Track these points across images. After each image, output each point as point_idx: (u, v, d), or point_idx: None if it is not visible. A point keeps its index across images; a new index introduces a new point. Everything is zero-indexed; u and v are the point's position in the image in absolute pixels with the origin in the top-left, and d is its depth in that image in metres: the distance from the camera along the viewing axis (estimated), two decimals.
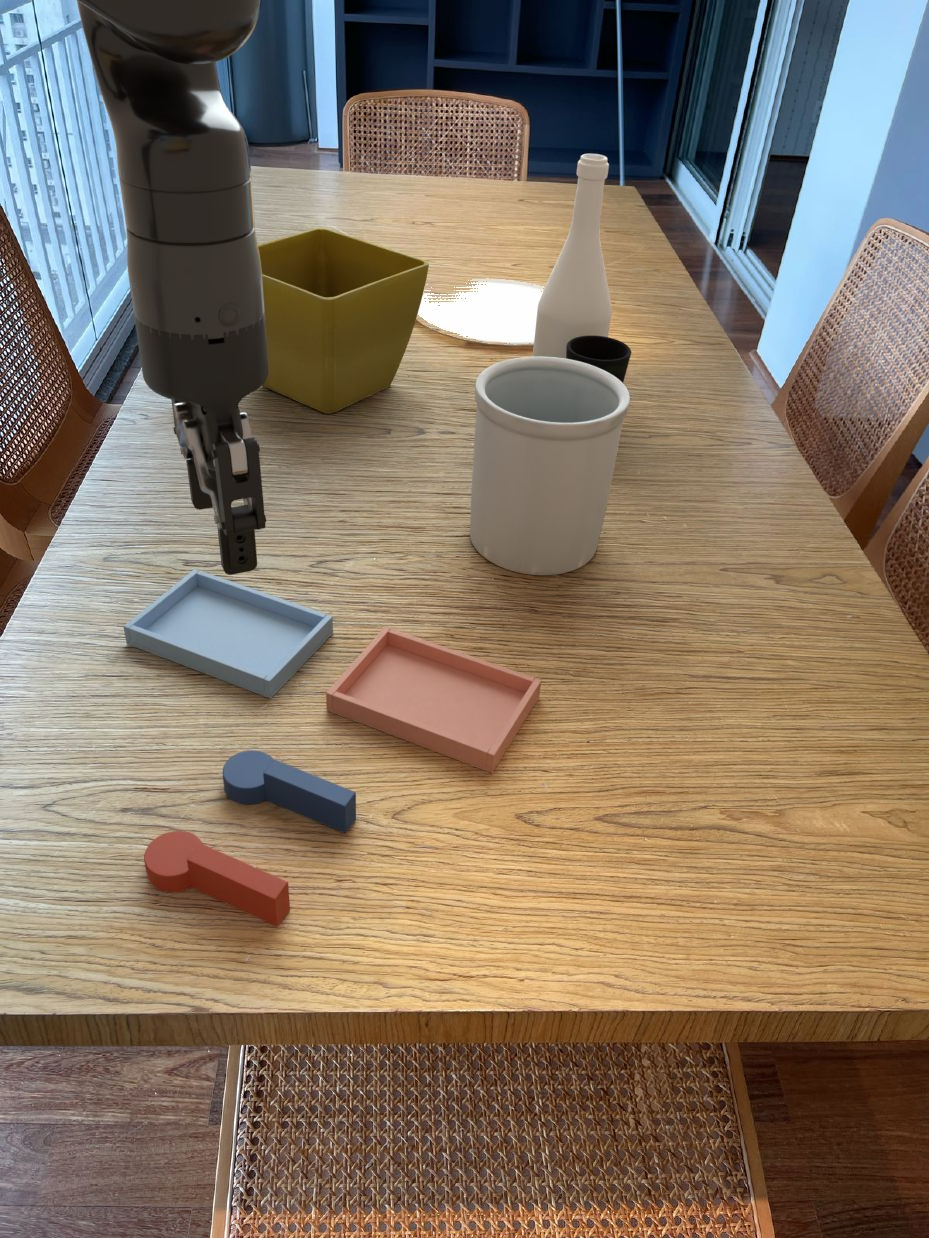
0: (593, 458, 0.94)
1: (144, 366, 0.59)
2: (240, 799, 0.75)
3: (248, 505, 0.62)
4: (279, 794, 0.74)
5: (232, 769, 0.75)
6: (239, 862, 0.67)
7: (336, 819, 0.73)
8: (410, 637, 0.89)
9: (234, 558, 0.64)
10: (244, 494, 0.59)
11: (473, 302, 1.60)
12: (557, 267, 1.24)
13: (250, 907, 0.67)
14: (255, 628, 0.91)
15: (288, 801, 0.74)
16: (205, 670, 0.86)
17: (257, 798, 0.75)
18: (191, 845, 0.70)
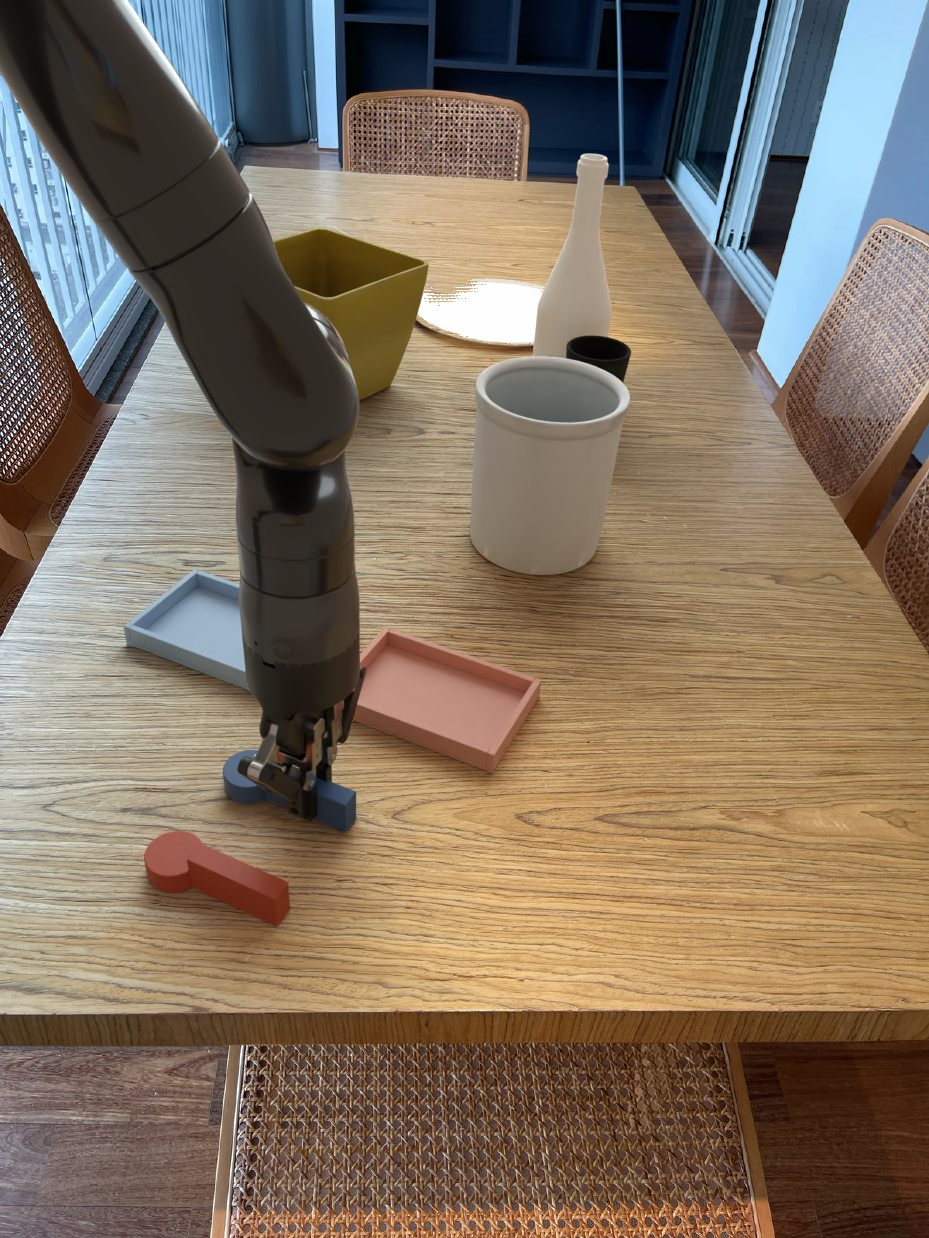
0: (593, 458, 0.94)
1: None
2: (240, 798, 0.75)
3: None
4: None
5: (232, 768, 0.75)
6: (239, 862, 0.67)
7: (337, 818, 0.73)
8: (410, 637, 0.89)
9: (288, 805, 0.72)
10: (269, 789, 0.67)
11: (473, 302, 1.60)
12: (557, 267, 1.24)
13: (250, 907, 0.67)
14: None
15: None
16: (205, 670, 0.86)
17: (257, 797, 0.75)
18: (191, 845, 0.70)
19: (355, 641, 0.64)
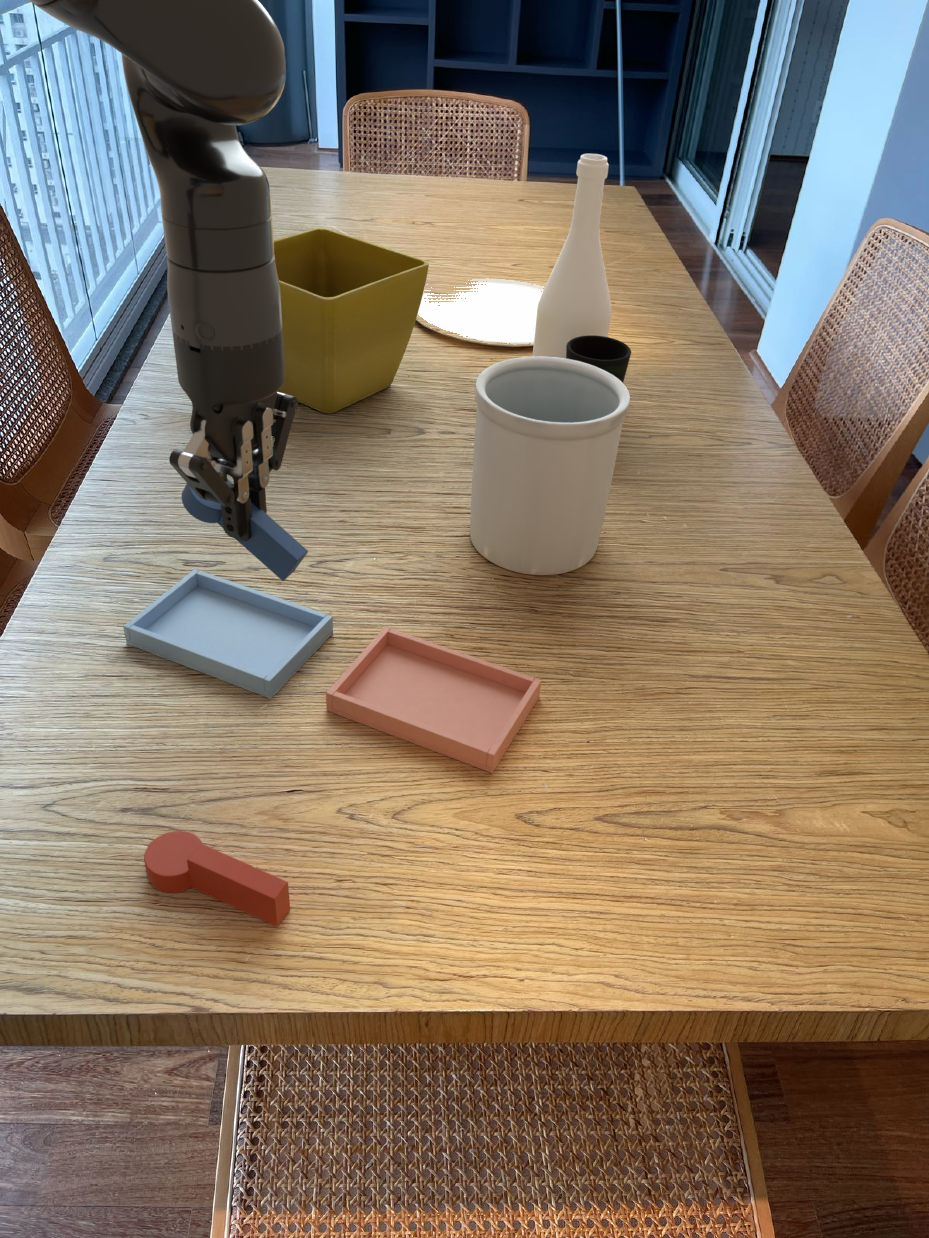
0: (593, 458, 0.94)
1: None
2: (196, 514, 0.78)
3: None
4: None
5: None
6: (239, 862, 0.67)
7: (282, 567, 0.79)
8: (410, 637, 0.89)
9: (224, 523, 0.78)
10: (201, 487, 0.72)
11: (473, 302, 1.60)
12: (557, 267, 1.24)
13: (250, 907, 0.67)
14: (255, 628, 0.91)
15: None
16: (205, 670, 0.86)
17: (212, 519, 0.79)
18: (191, 845, 0.70)
19: (277, 336, 0.69)
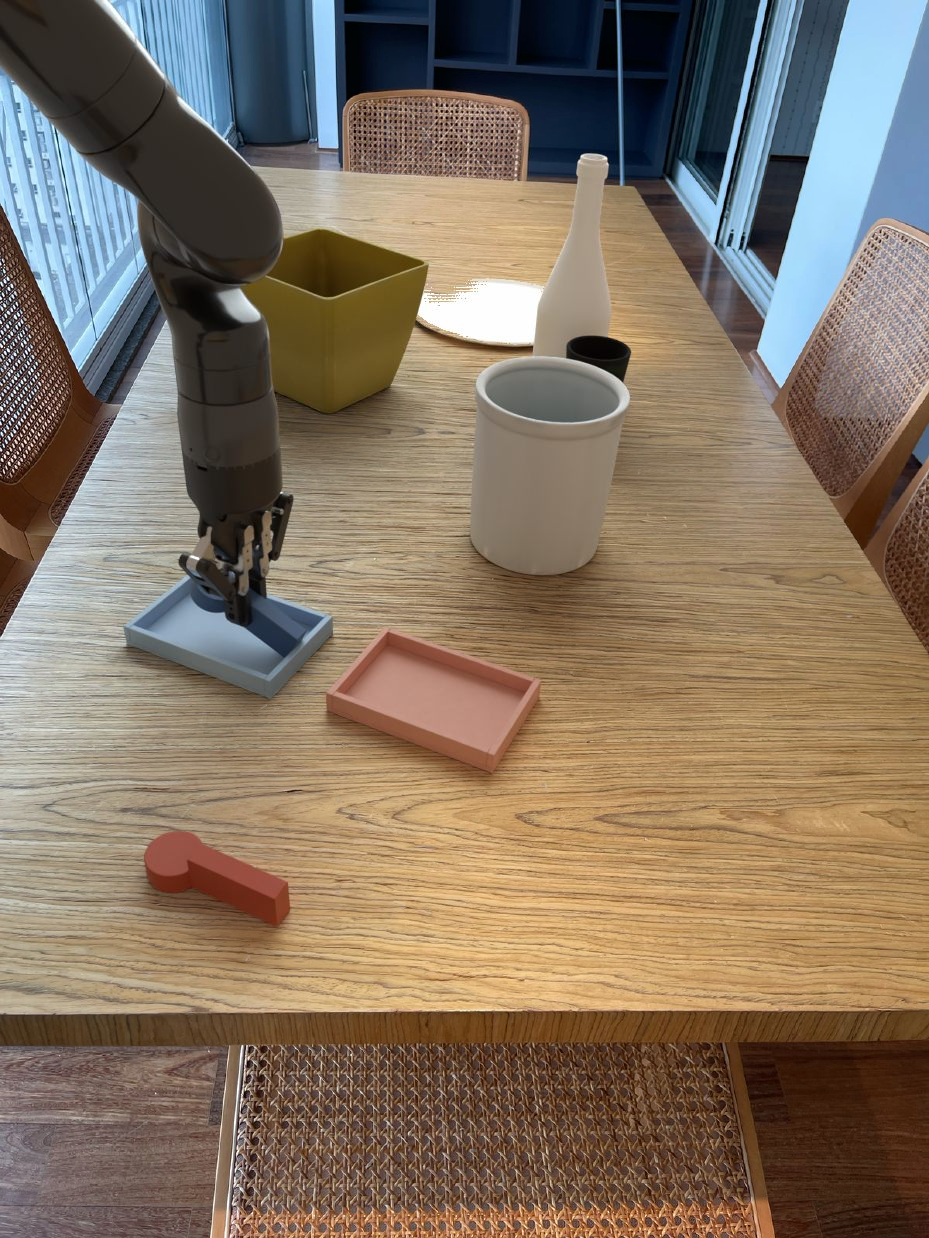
0: (593, 458, 0.94)
1: None
2: (204, 606, 0.87)
3: None
4: None
5: None
6: (239, 862, 0.67)
7: (284, 647, 0.87)
8: (410, 637, 0.89)
9: (226, 612, 0.86)
10: (206, 585, 0.80)
11: (473, 302, 1.60)
12: (557, 267, 1.24)
13: (250, 907, 0.67)
14: None
15: None
16: (205, 670, 0.86)
17: (218, 609, 0.87)
18: (191, 845, 0.70)
19: (275, 453, 0.77)
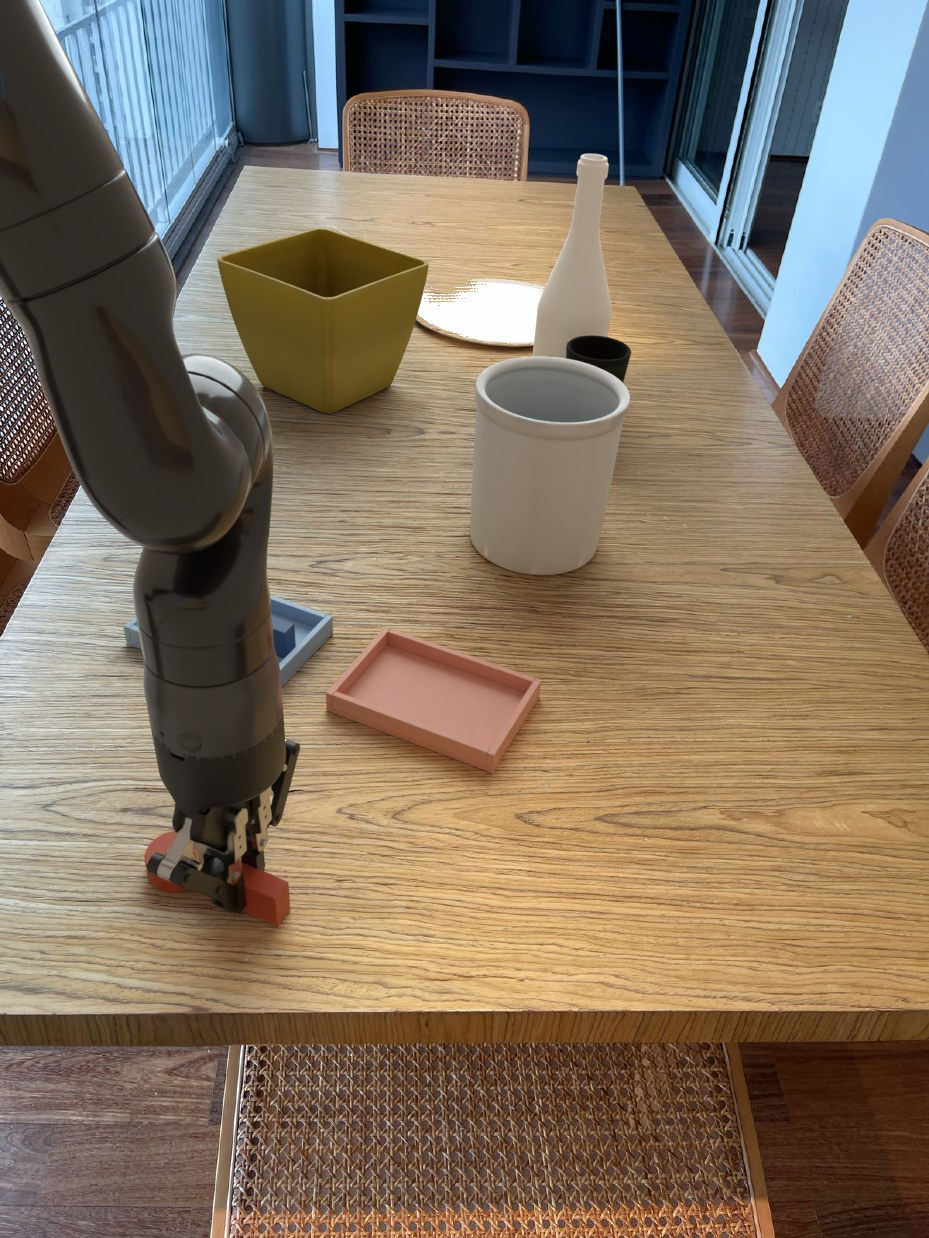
0: (593, 458, 0.94)
1: None
2: None
3: None
4: None
5: None
6: None
7: (278, 646, 0.87)
8: (410, 637, 0.89)
9: None
10: None
11: (473, 302, 1.60)
12: (557, 267, 1.24)
13: (250, 906, 0.67)
14: None
15: None
16: None
17: None
18: None
19: (276, 727, 0.57)
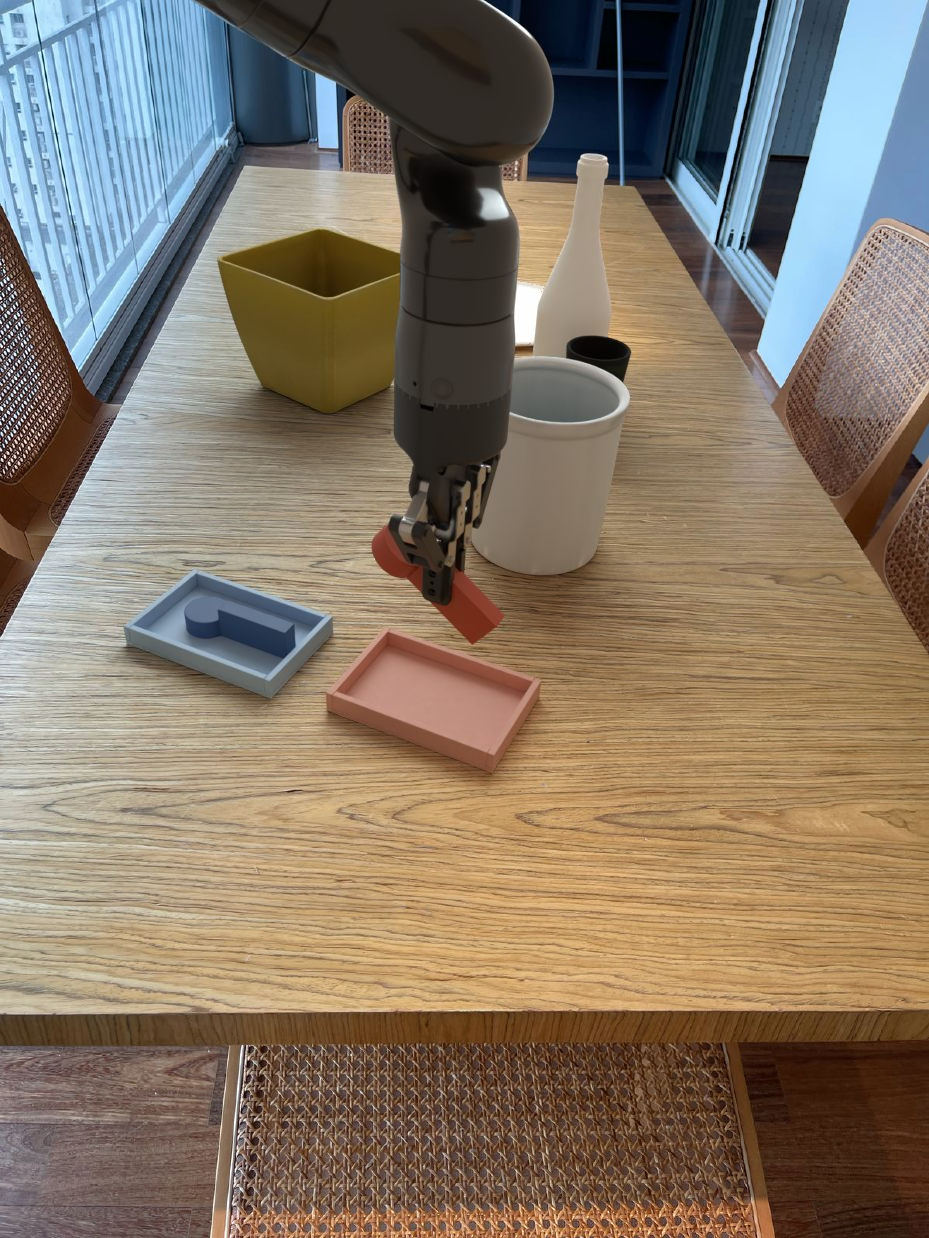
0: (593, 458, 0.94)
1: None
2: (199, 633, 0.89)
3: None
4: (231, 628, 0.89)
5: (192, 609, 0.90)
6: (469, 580, 0.73)
7: (278, 646, 0.87)
8: (410, 637, 0.89)
9: (425, 587, 0.72)
10: (416, 553, 0.66)
11: None
12: (557, 267, 1.24)
13: (459, 620, 0.74)
14: None
15: (239, 634, 0.89)
16: (205, 670, 0.86)
17: (212, 632, 0.89)
18: None
19: (510, 391, 0.63)
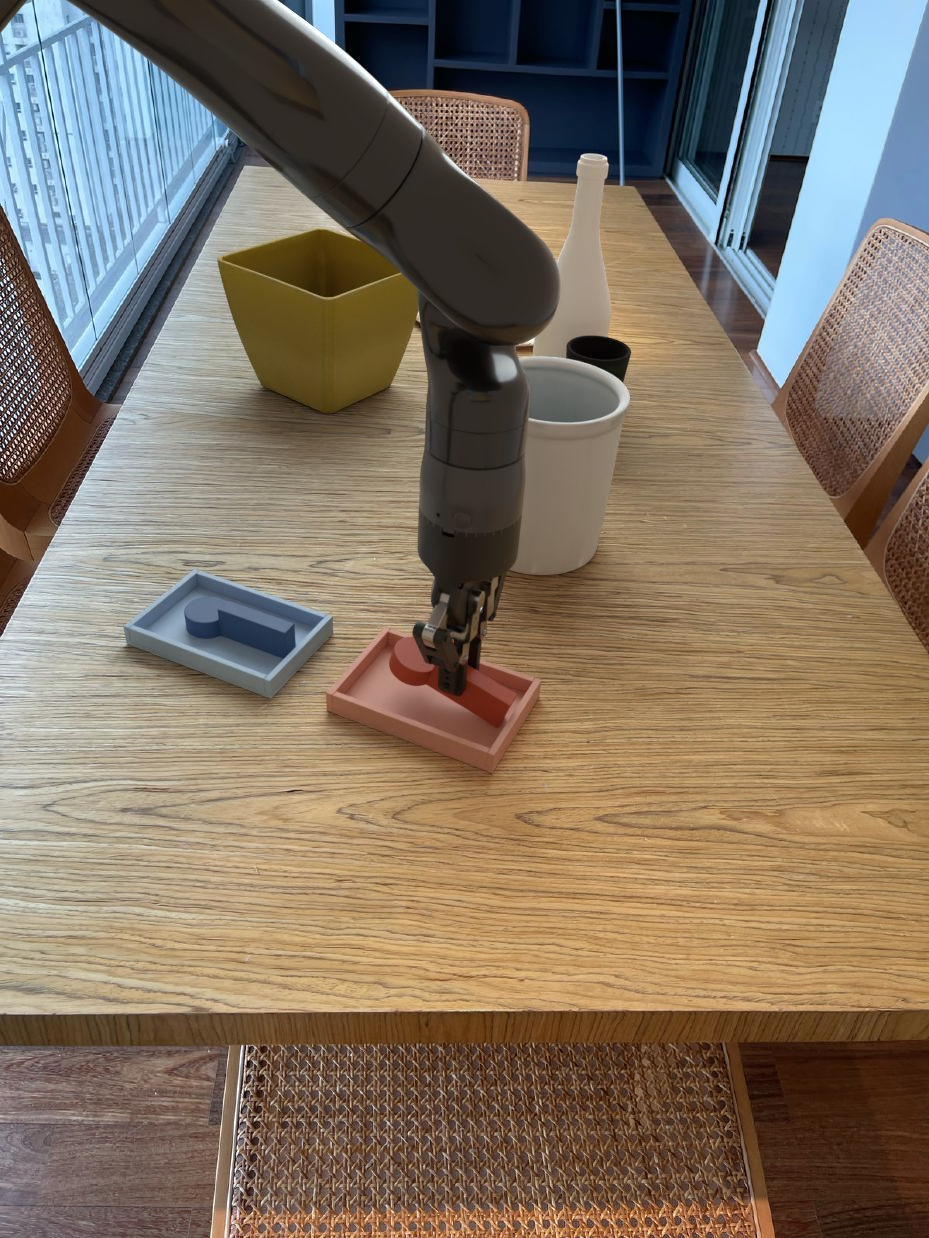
0: (593, 458, 0.94)
1: None
2: (199, 633, 0.89)
3: None
4: (231, 628, 0.89)
5: (192, 609, 0.90)
6: (477, 671, 0.82)
7: (278, 646, 0.87)
8: None
9: (441, 681, 0.80)
10: (435, 655, 0.75)
11: None
12: None
13: (479, 708, 0.82)
14: None
15: (239, 634, 0.89)
16: (205, 670, 0.86)
17: (212, 632, 0.89)
18: None
19: (520, 517, 0.72)
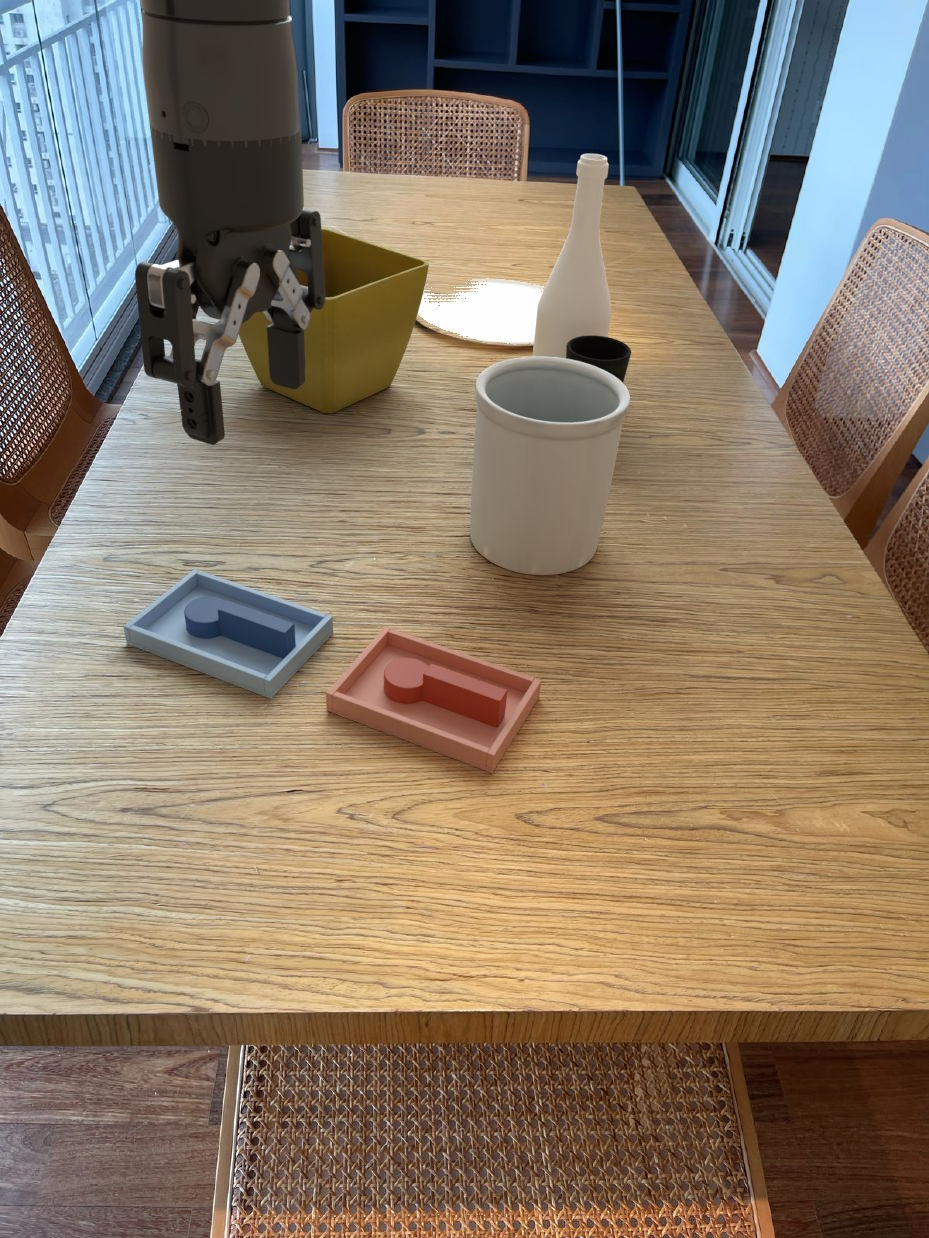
0: (593, 458, 0.94)
1: None
2: (199, 633, 0.89)
3: (201, 361, 0.54)
4: (231, 628, 0.89)
5: (192, 609, 0.90)
6: (465, 676, 0.83)
7: (278, 646, 0.87)
8: (410, 637, 0.89)
9: (184, 417, 0.56)
10: (160, 333, 0.51)
11: (473, 302, 1.60)
12: (557, 267, 1.24)
13: (475, 712, 0.83)
14: None
15: (239, 634, 0.89)
16: (205, 670, 0.86)
17: (212, 632, 0.89)
18: (420, 667, 0.85)
19: (294, 136, 0.50)
